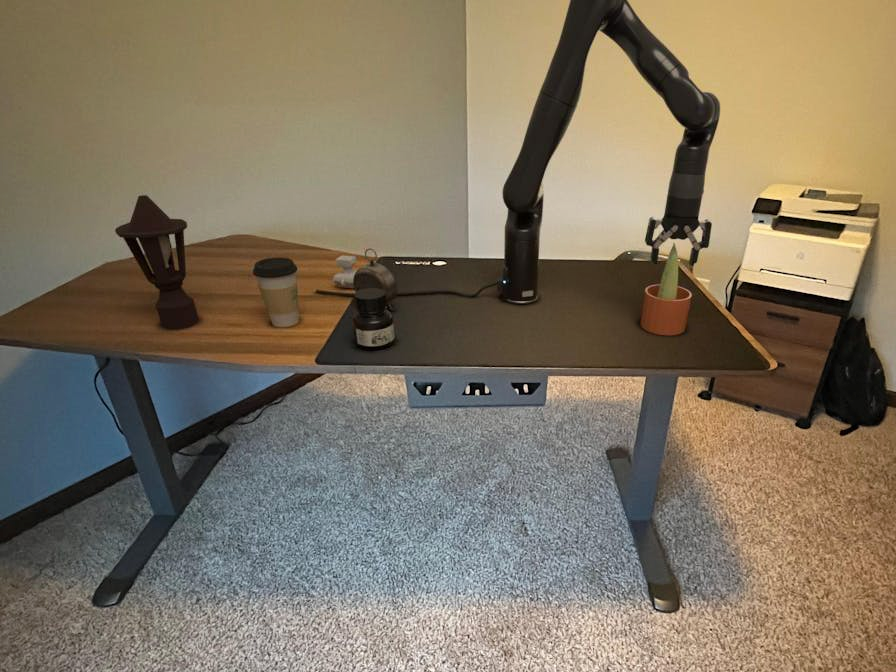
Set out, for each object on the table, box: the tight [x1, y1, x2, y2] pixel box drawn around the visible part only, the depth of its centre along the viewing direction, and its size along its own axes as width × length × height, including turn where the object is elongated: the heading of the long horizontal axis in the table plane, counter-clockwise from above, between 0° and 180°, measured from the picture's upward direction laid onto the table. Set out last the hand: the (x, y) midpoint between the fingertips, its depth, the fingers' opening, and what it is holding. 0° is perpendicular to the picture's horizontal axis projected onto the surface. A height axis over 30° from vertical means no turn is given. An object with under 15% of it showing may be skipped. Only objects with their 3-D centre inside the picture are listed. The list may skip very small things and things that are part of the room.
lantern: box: [114, 194, 200, 330], centre depth 131 cm, size 15×15×30 cm
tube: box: [657, 242, 680, 300], centre depth 137 cm, size 6×5×20 cm
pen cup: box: [639, 283, 693, 336], centre depth 140 cm, size 11×11×9 cm
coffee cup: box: [252, 256, 300, 328], centre depth 136 cm, size 10×10×15 cm
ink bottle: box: [352, 288, 395, 351], centre depth 128 cm, size 10×9×12 cm
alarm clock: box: [353, 247, 398, 312], centre depth 143 cm, size 11×5×16 cm, turn 65°
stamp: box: [332, 254, 358, 289], centre depth 160 cm, size 9×7×8 cm
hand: (672, 263), depth 134 cm, fingers open, 8 cm apart
